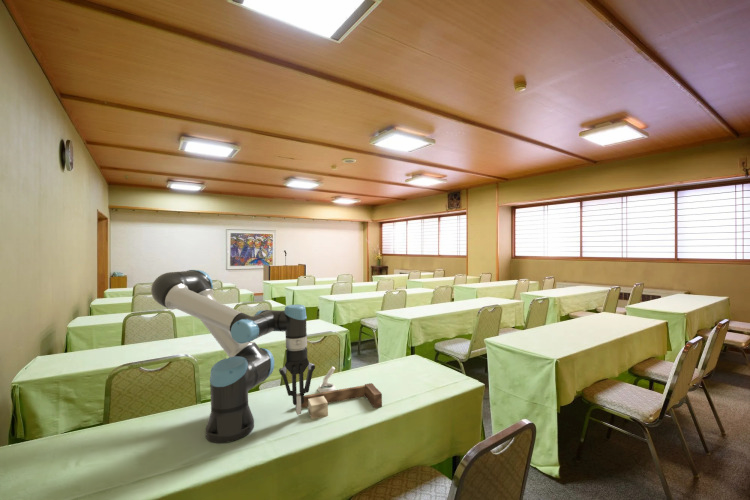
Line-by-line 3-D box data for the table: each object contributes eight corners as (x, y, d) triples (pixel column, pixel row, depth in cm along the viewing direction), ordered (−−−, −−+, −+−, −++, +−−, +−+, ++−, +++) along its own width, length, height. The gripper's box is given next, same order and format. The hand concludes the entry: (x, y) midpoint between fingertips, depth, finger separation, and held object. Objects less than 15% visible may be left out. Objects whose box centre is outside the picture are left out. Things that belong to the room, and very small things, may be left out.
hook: (347, 379, 146) (333, 372, 143) (330, 401, 146) (317, 395, 144) (343, 369, 153) (331, 363, 150) (328, 391, 153) (315, 384, 151)
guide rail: (300, 422, 120) (300, 408, 120) (295, 407, 132) (295, 394, 132) (384, 406, 132) (384, 393, 132) (372, 393, 144) (372, 381, 143)
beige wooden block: (311, 419, 123) (311, 405, 123) (308, 412, 128) (308, 398, 128) (327, 416, 125) (327, 402, 125) (323, 408, 131) (323, 395, 131)
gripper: (279, 353, 118) (281, 421, 118) (316, 348, 122) (318, 413, 123) (277, 347, 125) (279, 411, 125) (312, 343, 129) (314, 404, 130)
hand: (298, 412), depth 124 cm, fingers closed
